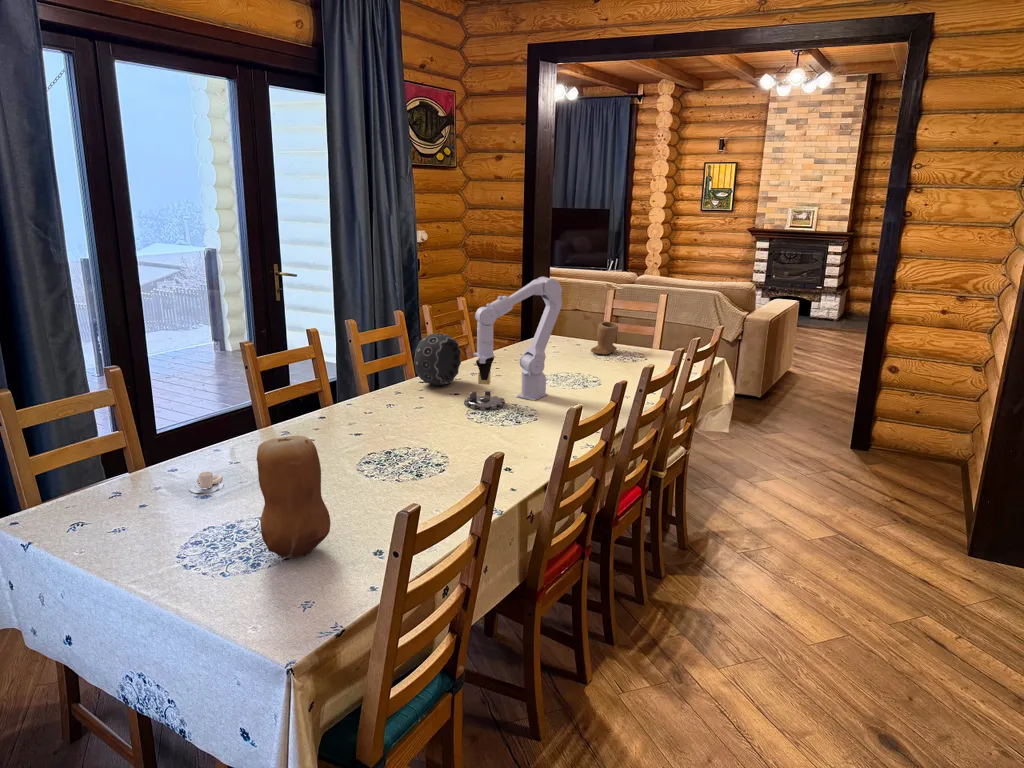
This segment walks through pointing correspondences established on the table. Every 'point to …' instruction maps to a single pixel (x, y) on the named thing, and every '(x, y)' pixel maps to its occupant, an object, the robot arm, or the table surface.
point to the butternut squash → (291, 496)
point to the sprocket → (483, 401)
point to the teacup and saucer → (208, 479)
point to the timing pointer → (488, 393)
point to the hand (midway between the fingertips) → (485, 378)
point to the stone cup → (606, 338)
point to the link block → (484, 380)
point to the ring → (437, 359)
